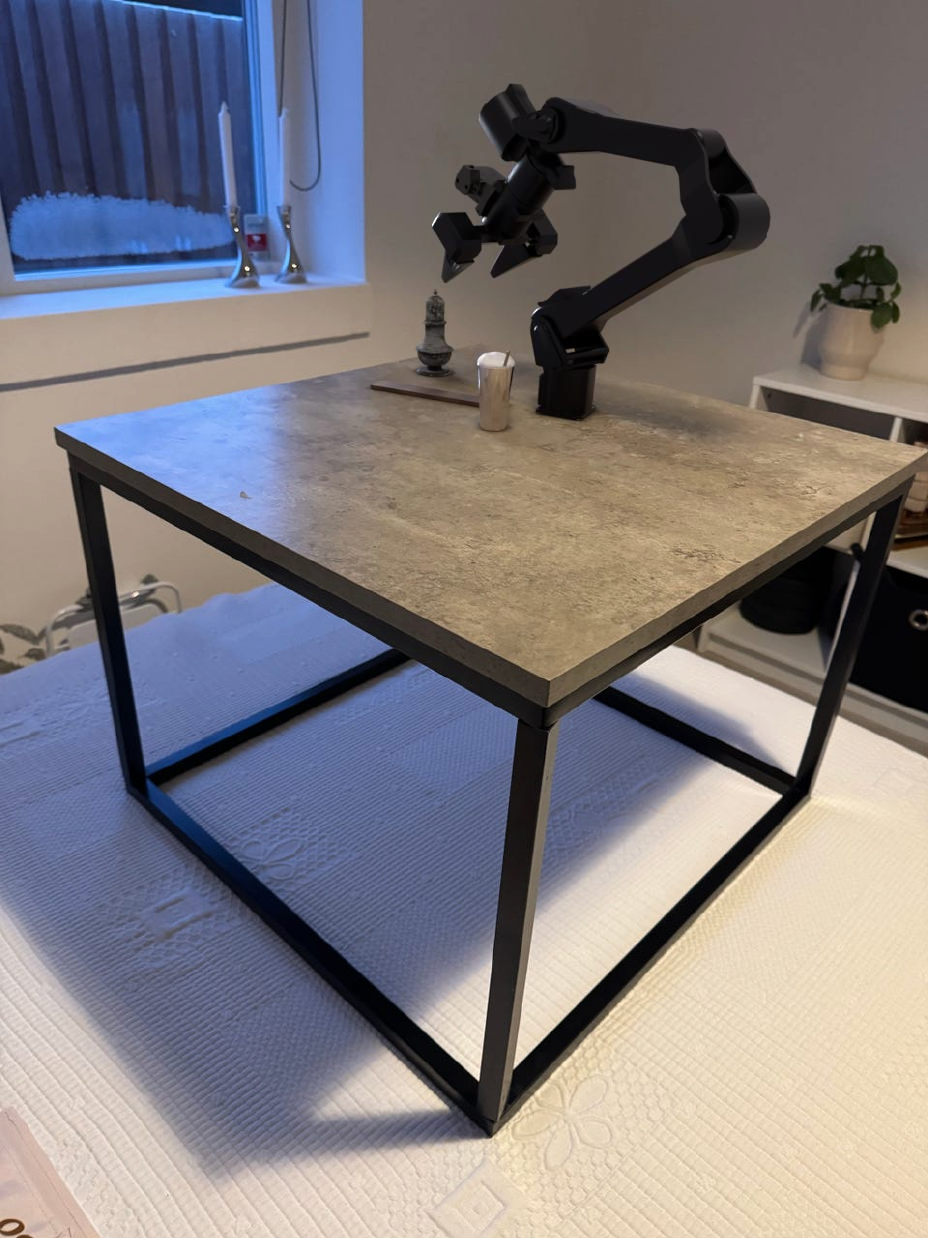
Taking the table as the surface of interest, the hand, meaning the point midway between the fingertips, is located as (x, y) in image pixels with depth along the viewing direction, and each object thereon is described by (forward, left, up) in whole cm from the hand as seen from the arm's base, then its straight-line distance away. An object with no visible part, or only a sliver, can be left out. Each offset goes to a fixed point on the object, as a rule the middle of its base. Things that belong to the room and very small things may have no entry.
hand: (468, 277), depth 121 cm
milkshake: (-14, +19, -15) cm, 28 cm away
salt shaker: (+6, -2, -15) cm, 16 cm away
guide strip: (-1, +10, -14) cm, 18 cm away
